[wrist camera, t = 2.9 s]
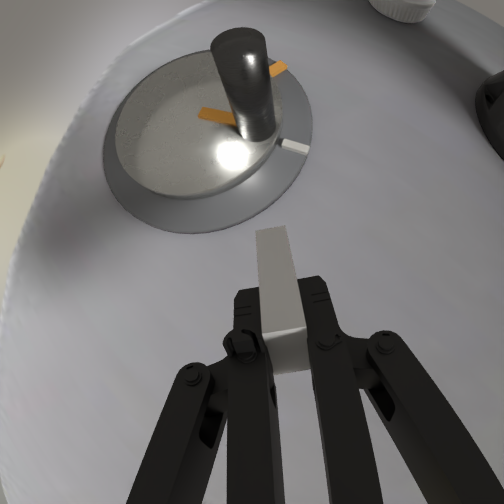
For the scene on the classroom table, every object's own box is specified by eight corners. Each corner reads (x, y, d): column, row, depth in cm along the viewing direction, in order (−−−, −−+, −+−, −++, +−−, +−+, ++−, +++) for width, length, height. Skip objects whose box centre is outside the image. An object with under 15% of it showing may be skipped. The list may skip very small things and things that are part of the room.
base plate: (246, 32, 34) (244, 23, 32) (356, 160, 29) (359, 153, 27) (91, 119, 35) (84, 112, 33) (149, 277, 30) (141, 275, 28)
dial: (99, 176, 31) (23, 124, 18) (168, 57, 33) (130, -15, 20) (244, 224, 28) (206, 164, 15) (304, 78, 30) (304, -15, 17)
